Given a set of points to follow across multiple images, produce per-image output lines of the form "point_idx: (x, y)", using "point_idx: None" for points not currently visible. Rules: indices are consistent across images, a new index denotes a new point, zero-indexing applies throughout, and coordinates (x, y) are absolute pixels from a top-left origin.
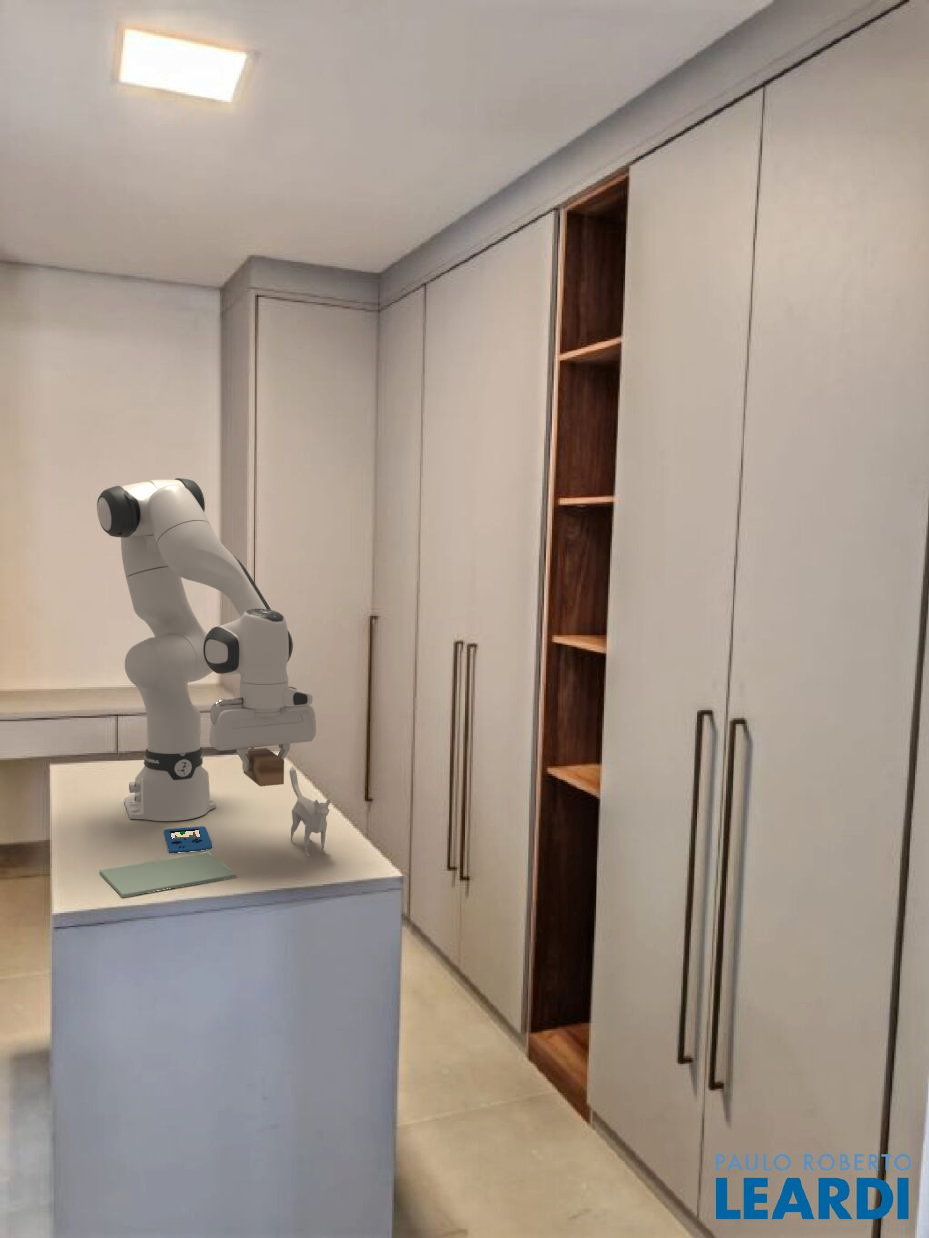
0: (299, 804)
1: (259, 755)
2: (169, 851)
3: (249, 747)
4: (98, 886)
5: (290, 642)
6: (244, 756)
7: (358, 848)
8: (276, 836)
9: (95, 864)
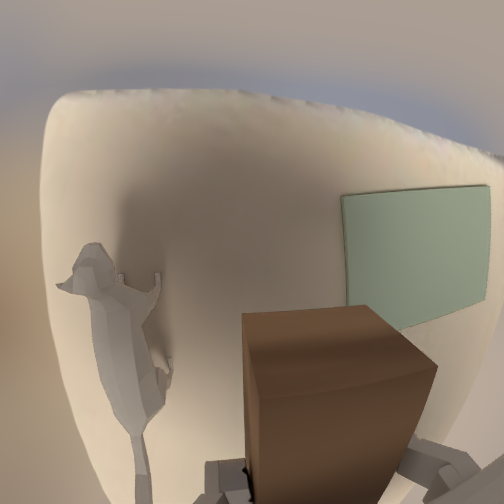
0: (145, 397)
1: (349, 497)
2: None
3: (459, 485)
4: (494, 246)
5: None
6: (446, 453)
7: (54, 282)
8: (193, 406)
9: (472, 336)
